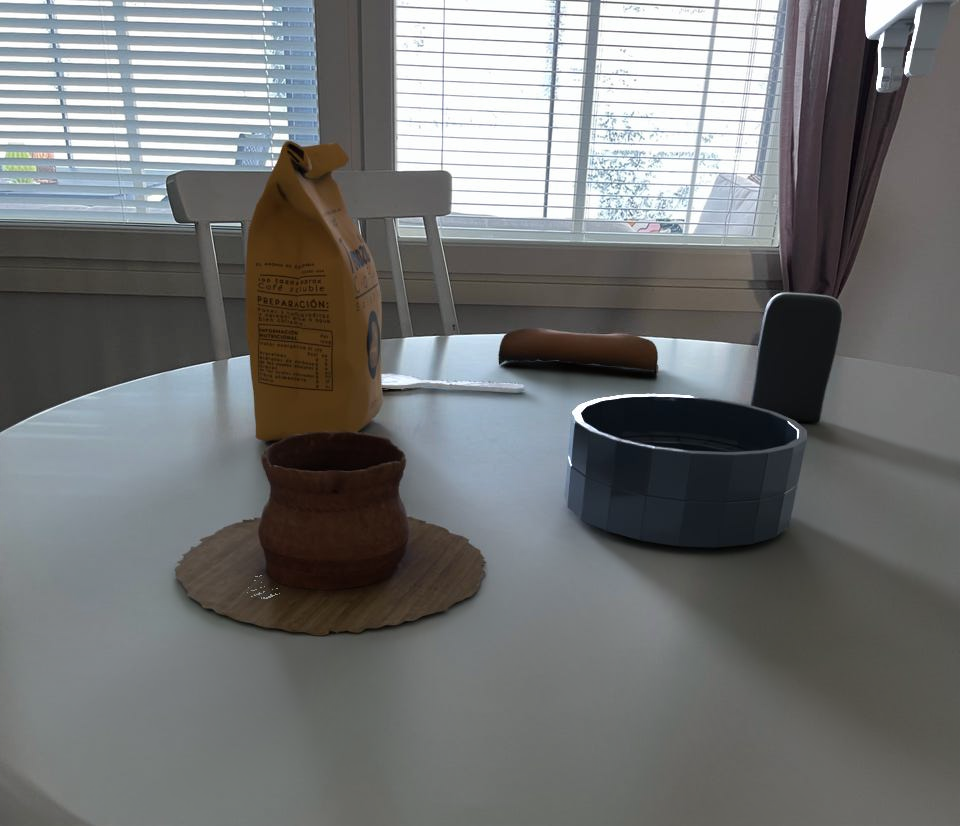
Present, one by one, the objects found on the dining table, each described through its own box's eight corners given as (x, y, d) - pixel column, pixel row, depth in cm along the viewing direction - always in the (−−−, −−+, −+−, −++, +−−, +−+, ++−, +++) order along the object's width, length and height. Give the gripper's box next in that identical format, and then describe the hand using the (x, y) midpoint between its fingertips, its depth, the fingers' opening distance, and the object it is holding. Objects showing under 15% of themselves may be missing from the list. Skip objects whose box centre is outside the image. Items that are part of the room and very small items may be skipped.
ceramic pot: (550, 574, 55) (559, 457, 52) (296, 671, 44) (288, 529, 40) (360, 494, 66) (358, 394, 63) (120, 556, 55) (102, 437, 52)
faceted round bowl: (754, 483, 72) (770, 398, 69) (818, 560, 58) (840, 458, 55) (557, 476, 72) (564, 390, 68) (575, 551, 58) (584, 449, 55)
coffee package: (401, 419, 85) (400, 144, 75) (352, 456, 74) (344, 142, 64) (298, 408, 87) (284, 140, 76) (237, 443, 76) (210, 136, 66)
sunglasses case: (660, 361, 110) (665, 315, 105) (653, 404, 107) (658, 358, 101) (510, 350, 113) (507, 304, 108) (499, 390, 110) (495, 345, 104)
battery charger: (820, 416, 92) (846, 293, 86) (821, 425, 88) (848, 298, 83) (747, 408, 93) (768, 287, 88) (745, 417, 90) (767, 292, 85)
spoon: (523, 396, 94) (523, 391, 94) (345, 387, 94) (345, 381, 94) (524, 384, 98) (524, 379, 98) (354, 376, 99) (354, 370, 99)
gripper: (1030, -168, 64) (982, 65, 70) (940, -81, 83) (908, 98, 89) (934, -166, 65) (894, 65, 71) (866, -80, 84) (839, 98, 89)
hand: (901, 84), depth 80 cm, fingers open, 8 cm apart
